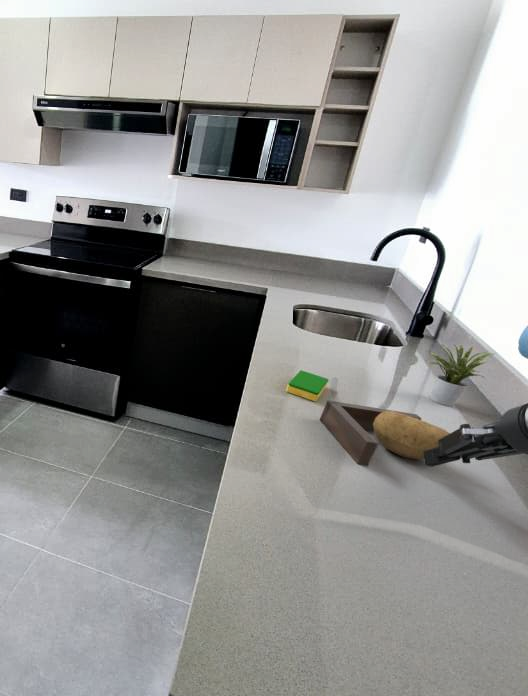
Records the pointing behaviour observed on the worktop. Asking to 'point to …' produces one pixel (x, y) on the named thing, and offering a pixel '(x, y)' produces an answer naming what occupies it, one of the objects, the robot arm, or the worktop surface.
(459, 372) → the house plant
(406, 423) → the potato
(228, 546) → the worktop surface
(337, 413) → the wooden corner bracket
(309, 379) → the dish sponge
